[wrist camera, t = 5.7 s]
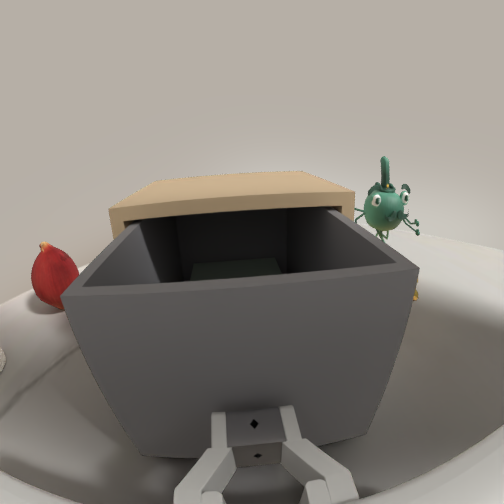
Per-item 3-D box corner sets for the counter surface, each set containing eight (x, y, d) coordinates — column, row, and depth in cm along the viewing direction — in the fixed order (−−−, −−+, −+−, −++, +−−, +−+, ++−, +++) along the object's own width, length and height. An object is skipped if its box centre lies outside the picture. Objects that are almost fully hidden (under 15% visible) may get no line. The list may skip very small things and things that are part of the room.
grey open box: (365, 434, 12) (419, 268, 8) (141, 455, 11) (59, 296, 8) (291, 275, 31) (290, 182, 27) (180, 283, 30) (167, 191, 26)
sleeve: (337, 355, 20) (354, 191, 16) (149, 370, 19) (108, 208, 14) (300, 283, 31) (301, 171, 27) (171, 293, 30) (155, 181, 26)
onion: (69, 292, 30) (53, 231, 27) (96, 301, 28) (79, 233, 25) (36, 314, 25) (14, 248, 22) (60, 327, 23) (35, 253, 20)
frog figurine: (371, 241, 43) (382, 148, 36) (438, 310, 27) (474, 183, 20) (315, 245, 42) (321, 144, 35) (370, 326, 26) (402, 176, 19)
